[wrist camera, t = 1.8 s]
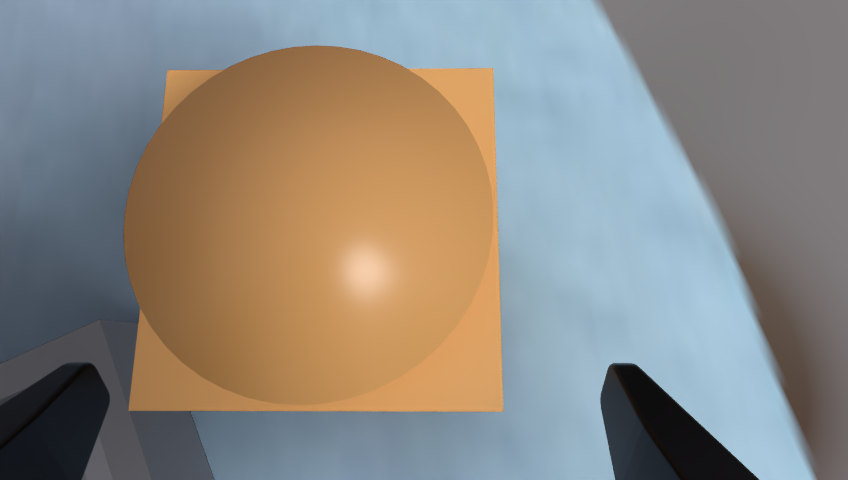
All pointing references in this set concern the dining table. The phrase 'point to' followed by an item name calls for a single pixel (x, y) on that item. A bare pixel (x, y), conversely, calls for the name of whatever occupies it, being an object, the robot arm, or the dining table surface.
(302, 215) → the post
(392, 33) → the dining table surface
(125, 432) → the tray
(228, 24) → the dining table surface
